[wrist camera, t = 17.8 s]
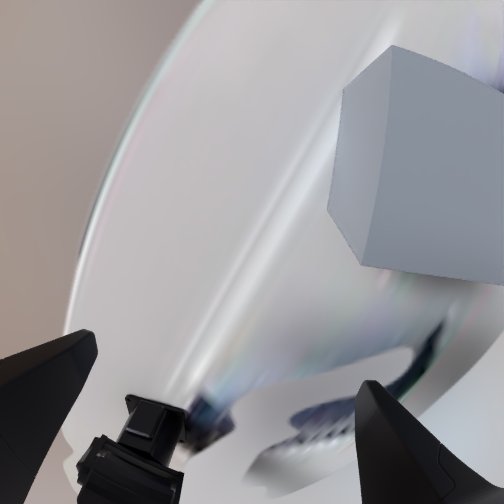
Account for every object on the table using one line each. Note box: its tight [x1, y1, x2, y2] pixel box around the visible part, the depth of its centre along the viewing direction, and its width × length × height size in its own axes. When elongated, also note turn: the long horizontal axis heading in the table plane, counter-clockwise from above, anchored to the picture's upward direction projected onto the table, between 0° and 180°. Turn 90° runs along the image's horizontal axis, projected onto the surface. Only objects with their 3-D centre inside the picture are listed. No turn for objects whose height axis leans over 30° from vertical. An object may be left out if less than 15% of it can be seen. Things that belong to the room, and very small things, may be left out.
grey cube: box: [327, 45, 504, 286], centre depth 12 cm, size 8×8×9 cm
